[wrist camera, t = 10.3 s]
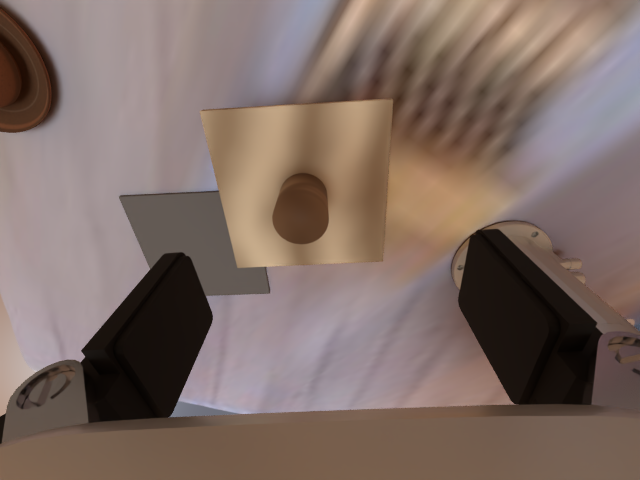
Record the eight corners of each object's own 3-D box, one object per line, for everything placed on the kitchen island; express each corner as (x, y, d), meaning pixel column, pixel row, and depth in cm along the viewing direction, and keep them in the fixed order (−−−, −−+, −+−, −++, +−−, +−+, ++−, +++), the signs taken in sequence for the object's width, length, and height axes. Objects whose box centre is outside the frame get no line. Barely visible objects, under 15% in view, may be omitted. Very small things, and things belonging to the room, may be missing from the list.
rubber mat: (251, 189, 35) (250, 190, 35) (270, 291, 44) (269, 293, 43) (120, 195, 36) (118, 196, 35) (163, 295, 44) (162, 297, 44)
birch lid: (390, 98, 22) (409, 106, 17) (381, 256, 29) (393, 292, 24) (203, 109, 22) (173, 120, 18) (239, 263, 29) (224, 299, 25)
